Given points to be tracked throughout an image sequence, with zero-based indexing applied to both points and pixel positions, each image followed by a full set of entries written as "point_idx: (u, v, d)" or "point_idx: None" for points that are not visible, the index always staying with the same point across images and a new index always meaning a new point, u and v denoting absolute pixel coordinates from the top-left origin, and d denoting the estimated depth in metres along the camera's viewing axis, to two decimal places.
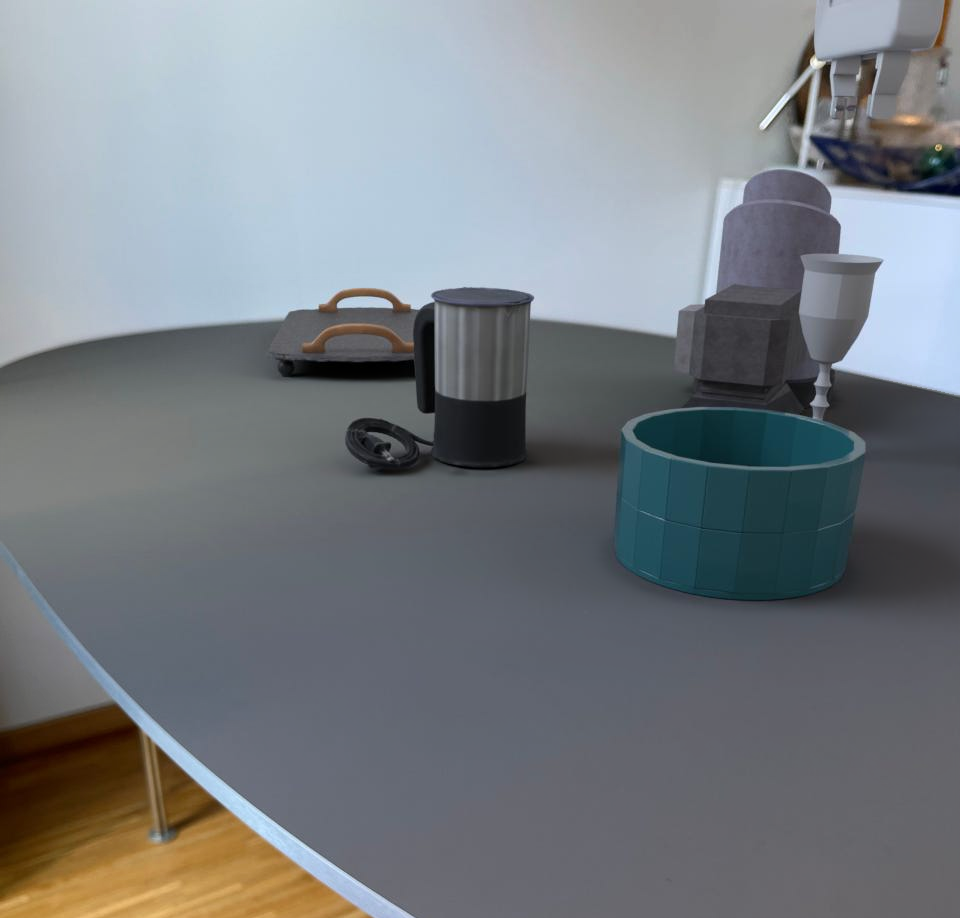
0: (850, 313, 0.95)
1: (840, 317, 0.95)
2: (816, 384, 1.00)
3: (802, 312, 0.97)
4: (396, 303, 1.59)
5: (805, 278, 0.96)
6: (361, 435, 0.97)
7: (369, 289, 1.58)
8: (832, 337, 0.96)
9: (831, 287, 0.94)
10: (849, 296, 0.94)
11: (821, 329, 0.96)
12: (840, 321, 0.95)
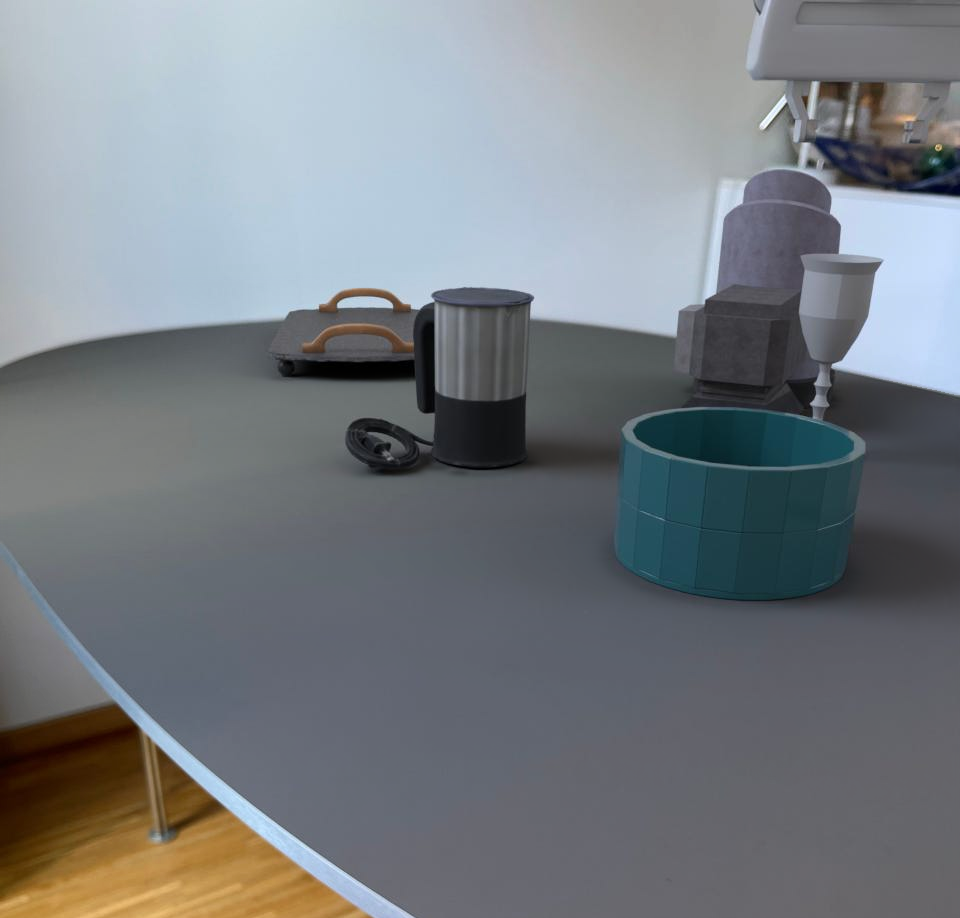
0: (850, 313, 0.95)
1: (840, 317, 0.95)
2: (816, 384, 1.00)
3: (802, 312, 0.97)
4: (396, 303, 1.59)
5: (805, 278, 0.96)
6: (361, 435, 0.97)
7: (369, 289, 1.58)
8: (832, 337, 0.96)
9: (831, 287, 0.94)
10: (849, 296, 0.94)
11: (821, 329, 0.96)
12: (840, 321, 0.95)
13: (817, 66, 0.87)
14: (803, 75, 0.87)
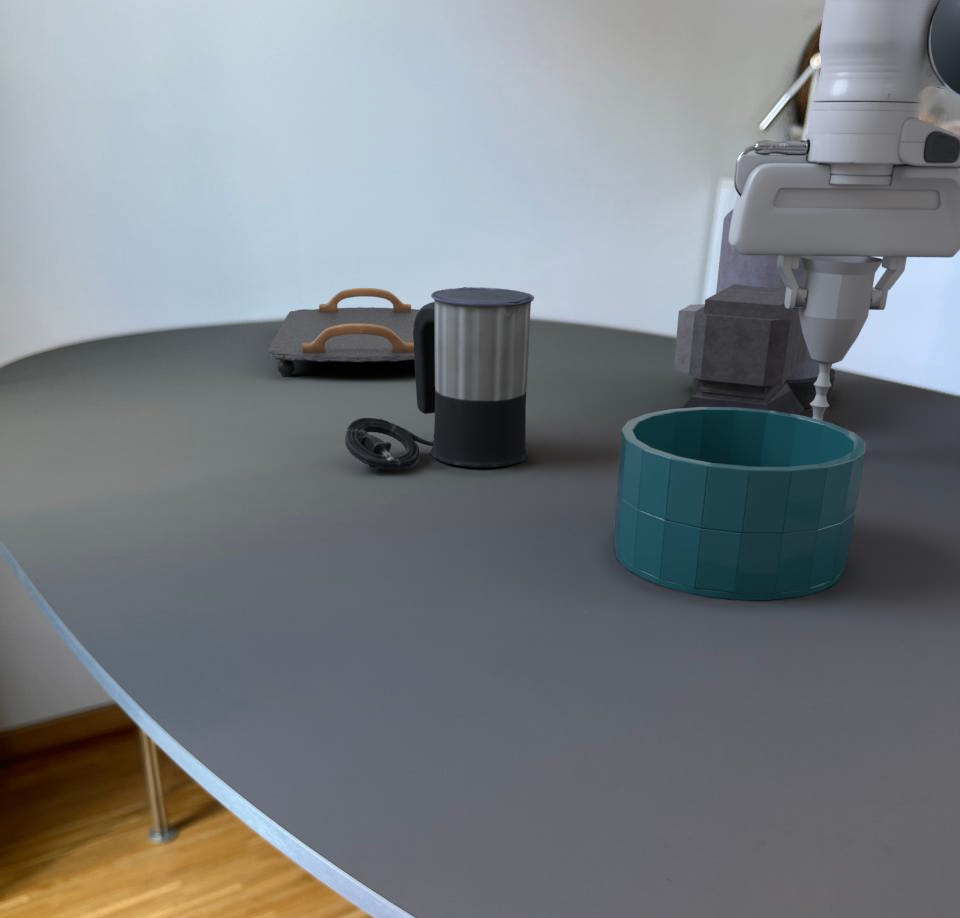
0: (850, 313, 0.95)
1: (840, 317, 0.95)
2: (816, 384, 1.00)
3: (802, 312, 0.97)
4: (396, 303, 1.59)
5: (805, 278, 0.96)
6: (361, 435, 0.97)
7: (369, 289, 1.58)
8: (832, 337, 0.96)
9: (831, 288, 0.94)
10: (849, 296, 0.94)
11: (821, 329, 0.96)
12: (840, 321, 0.95)
13: (793, 244, 0.93)
14: (781, 252, 0.93)
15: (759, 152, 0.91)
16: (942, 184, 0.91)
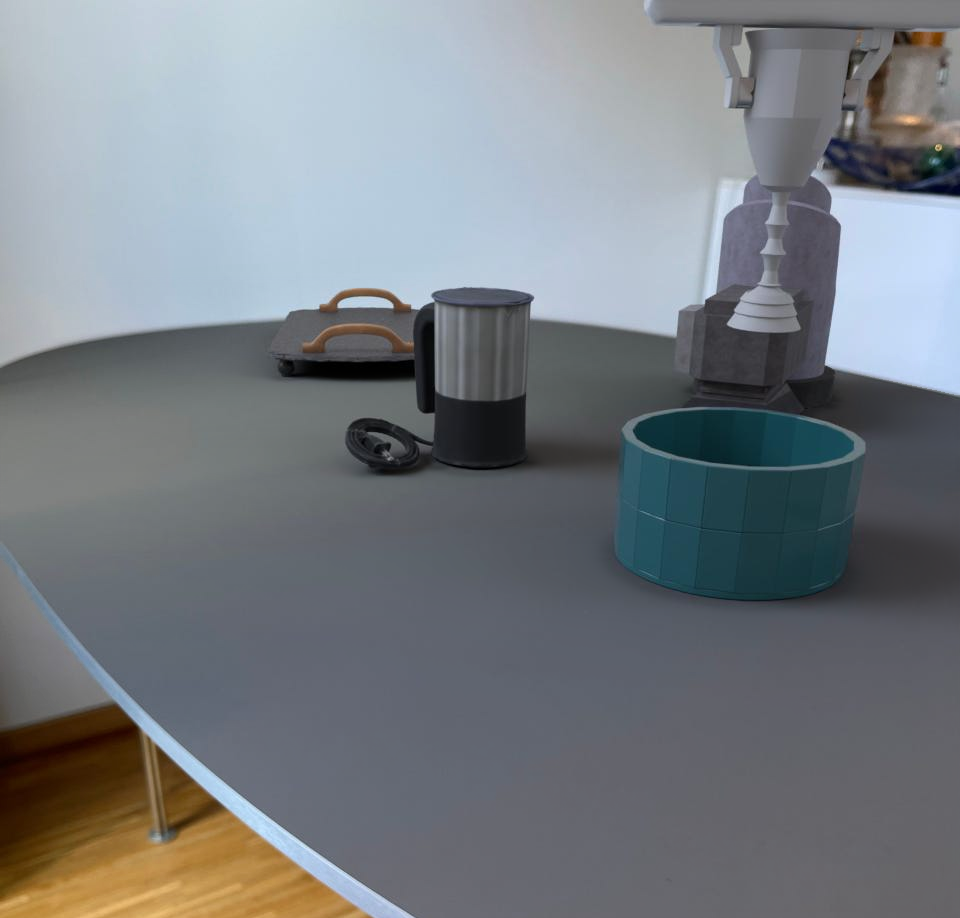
0: (813, 109, 0.66)
1: (799, 116, 0.67)
2: (768, 223, 0.72)
3: (747, 114, 0.69)
4: (397, 303, 1.59)
5: (751, 64, 0.68)
6: (361, 435, 0.97)
7: (370, 289, 1.58)
8: (788, 147, 0.68)
9: (786, 70, 0.66)
10: (811, 83, 0.66)
11: (773, 135, 0.68)
12: (799, 121, 0.67)
13: (733, 5, 0.65)
14: (715, 16, 0.65)
15: None
16: None
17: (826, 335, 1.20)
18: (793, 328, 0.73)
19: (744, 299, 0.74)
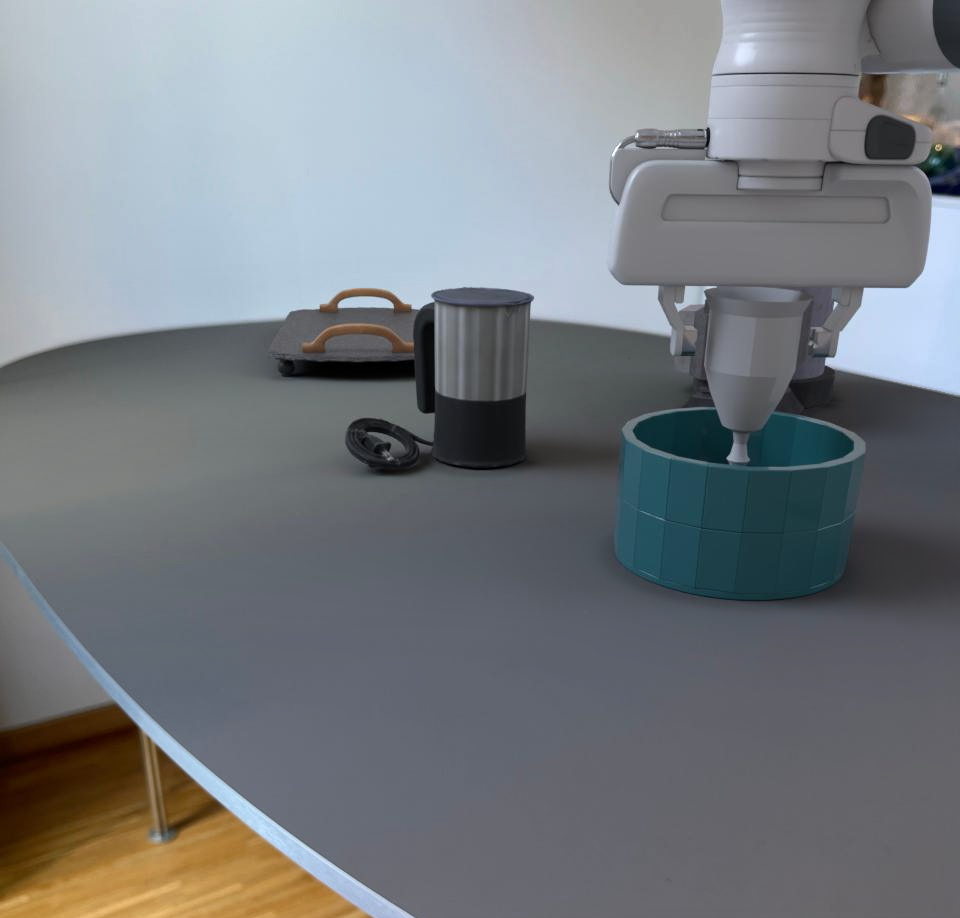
0: (769, 369, 0.70)
1: (755, 374, 0.70)
2: (729, 459, 0.75)
3: (707, 365, 0.73)
4: (397, 303, 1.59)
5: (710, 320, 0.72)
6: (361, 435, 0.97)
7: (370, 289, 1.58)
8: (746, 400, 0.72)
9: (742, 335, 0.69)
10: (766, 347, 0.69)
11: (731, 388, 0.72)
12: (756, 379, 0.71)
13: (691, 271, 0.68)
14: (674, 281, 0.69)
15: (641, 145, 0.66)
16: (892, 189, 0.66)
17: None
18: None
19: None
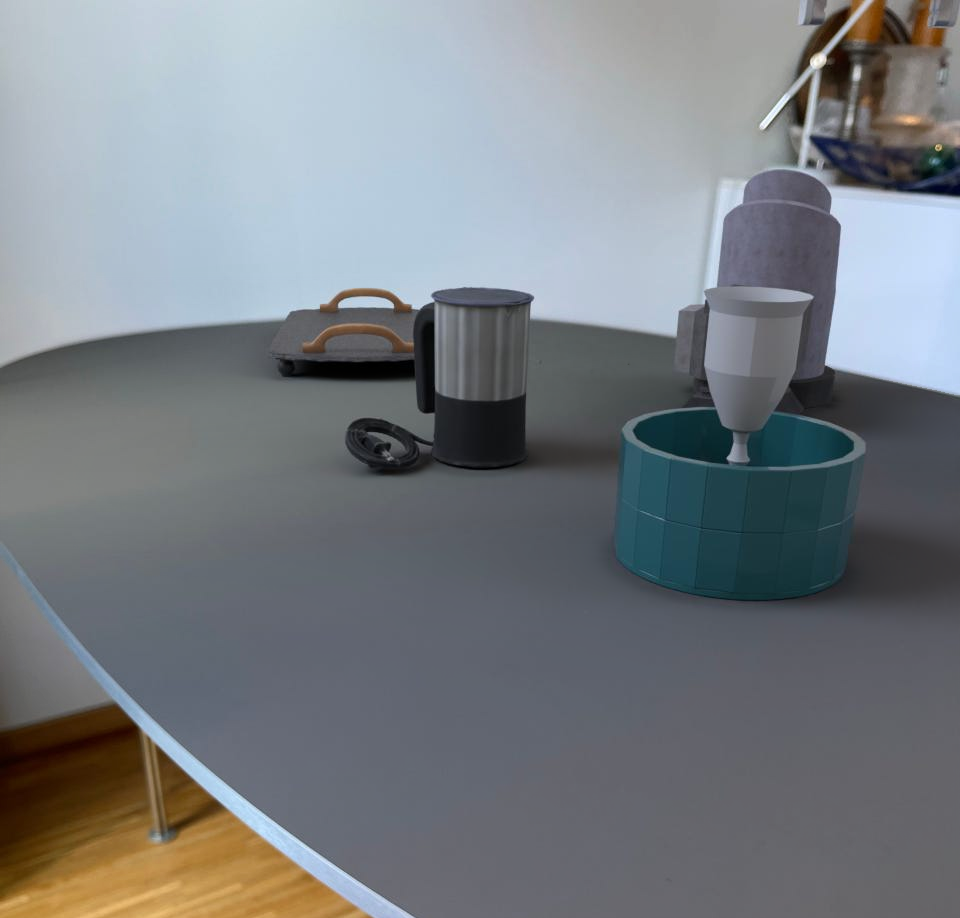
0: (769, 369, 0.70)
1: (755, 374, 0.70)
2: (729, 459, 0.75)
3: (707, 365, 0.73)
4: (397, 303, 1.59)
5: (710, 320, 0.72)
6: (361, 435, 0.97)
7: (370, 289, 1.58)
8: (746, 400, 0.72)
9: (742, 335, 0.69)
10: (766, 347, 0.69)
11: (731, 388, 0.72)
12: (756, 379, 0.71)
13: None
14: None
15: None
16: None
17: (826, 335, 1.20)
18: None
19: None
